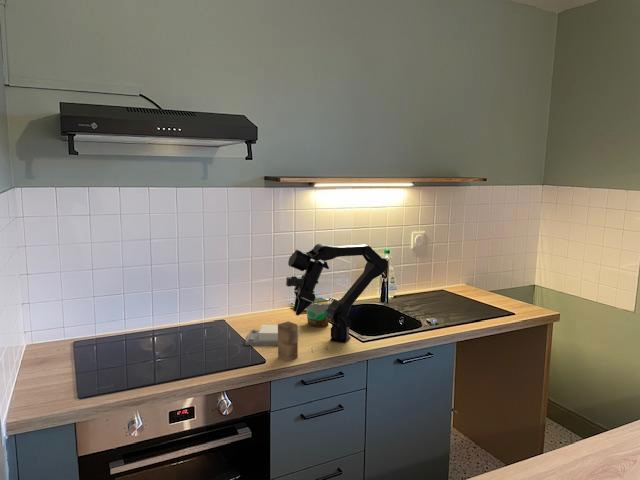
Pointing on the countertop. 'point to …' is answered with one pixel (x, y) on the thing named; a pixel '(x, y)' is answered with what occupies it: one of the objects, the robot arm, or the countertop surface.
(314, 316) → the food container
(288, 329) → the walnut brick
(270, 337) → the base brick
